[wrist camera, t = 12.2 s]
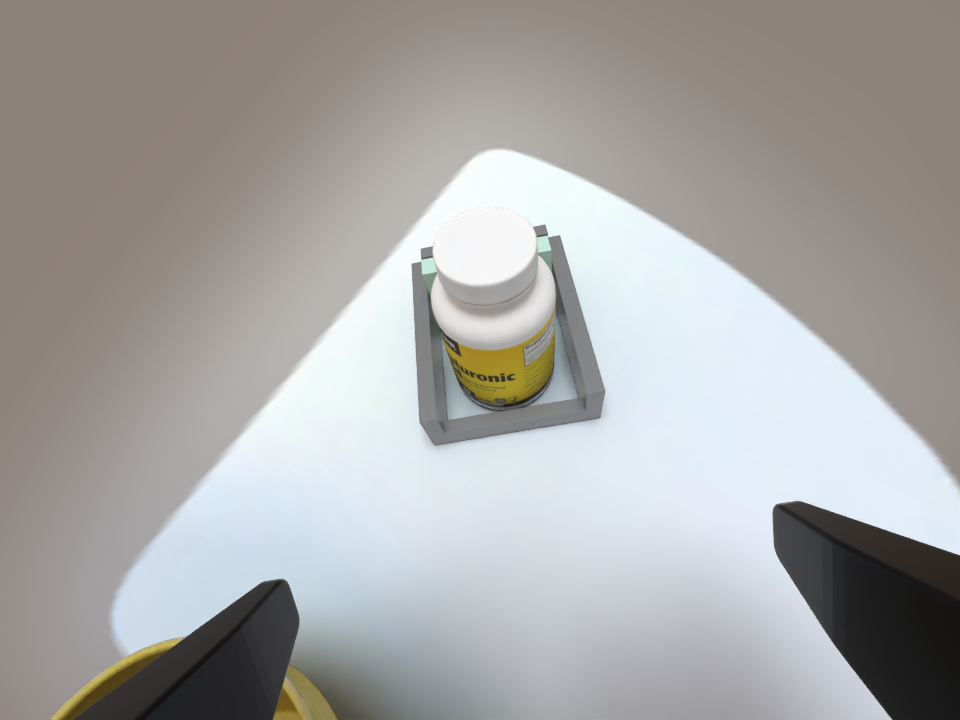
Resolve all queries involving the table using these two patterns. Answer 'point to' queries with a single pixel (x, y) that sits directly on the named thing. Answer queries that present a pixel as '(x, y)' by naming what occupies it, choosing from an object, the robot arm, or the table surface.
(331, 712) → the flower pot
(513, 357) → the supplement bottle
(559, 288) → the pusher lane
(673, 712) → the table surface
